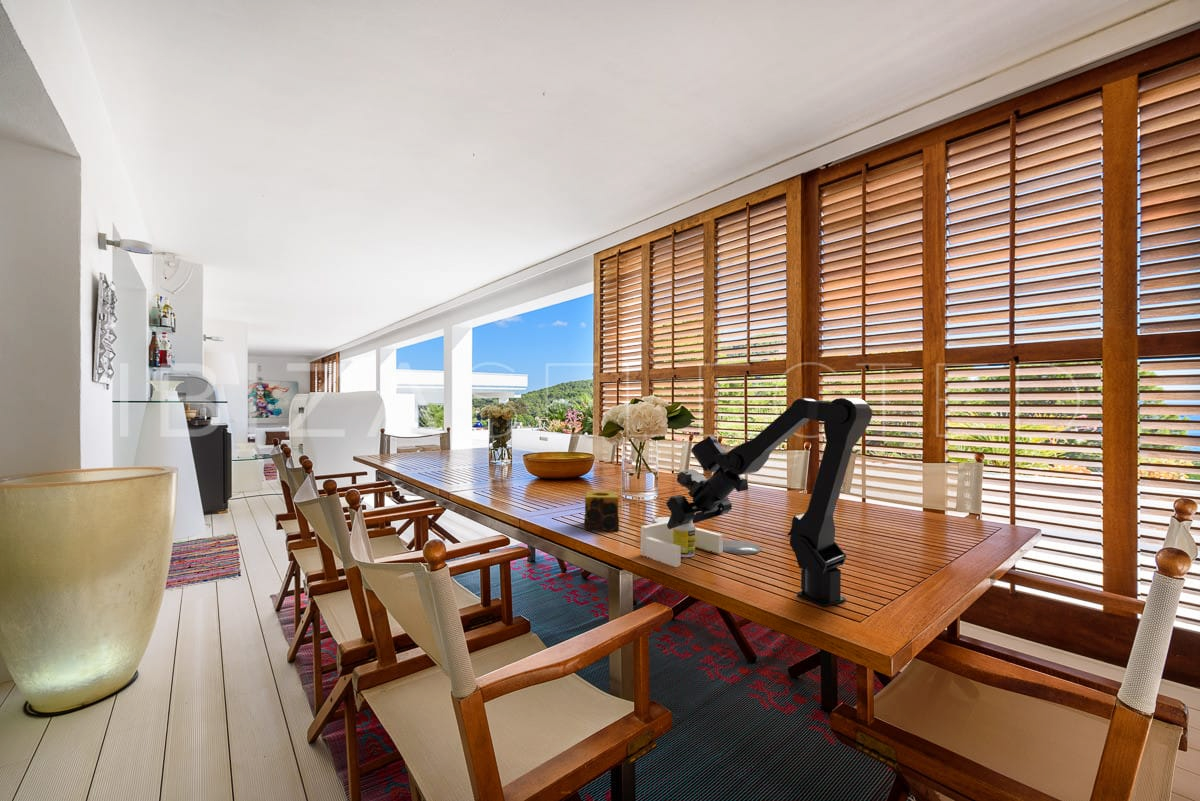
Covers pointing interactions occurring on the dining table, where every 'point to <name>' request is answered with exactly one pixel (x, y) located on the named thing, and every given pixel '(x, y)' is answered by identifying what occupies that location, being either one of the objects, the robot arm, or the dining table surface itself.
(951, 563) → the dining table surface
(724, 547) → the coaster
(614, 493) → the candle
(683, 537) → the supplement bottle
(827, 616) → the dining table surface
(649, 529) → the cream u-shaped arch
